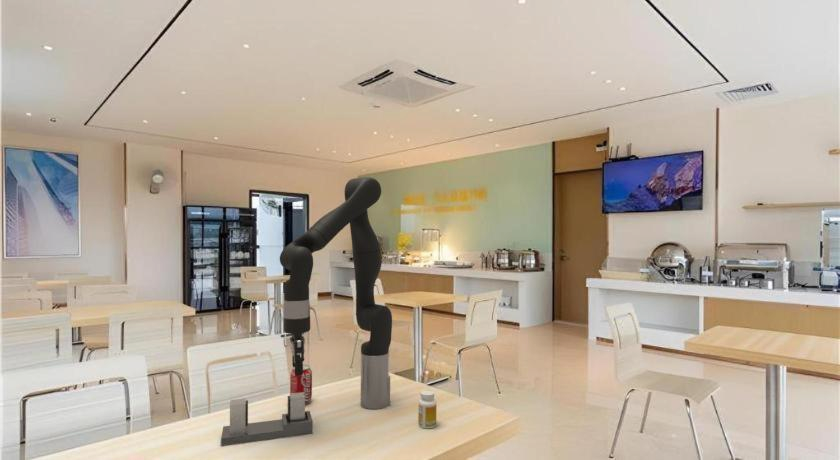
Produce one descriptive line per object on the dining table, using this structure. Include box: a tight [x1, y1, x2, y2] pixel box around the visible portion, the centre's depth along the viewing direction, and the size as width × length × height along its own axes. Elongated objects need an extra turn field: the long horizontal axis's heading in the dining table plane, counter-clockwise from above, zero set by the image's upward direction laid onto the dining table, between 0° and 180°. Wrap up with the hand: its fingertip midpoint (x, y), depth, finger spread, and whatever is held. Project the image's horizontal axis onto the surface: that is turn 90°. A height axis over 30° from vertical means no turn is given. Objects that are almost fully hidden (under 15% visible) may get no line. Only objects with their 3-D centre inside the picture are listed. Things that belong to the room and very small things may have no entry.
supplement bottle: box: [417, 390, 437, 429], centre depth 139 cm, size 5×5×10 cm
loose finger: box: [287, 392, 306, 423], centre depth 135 cm, size 5×4×8 cm
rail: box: [220, 397, 314, 447], centre depth 132 cm, size 24×8×10 cm, turn 109°
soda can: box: [289, 364, 313, 406], centre depth 156 cm, size 7×7×12 cm
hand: (297, 370), depth 135 cm, fingers open, 8 cm apart
